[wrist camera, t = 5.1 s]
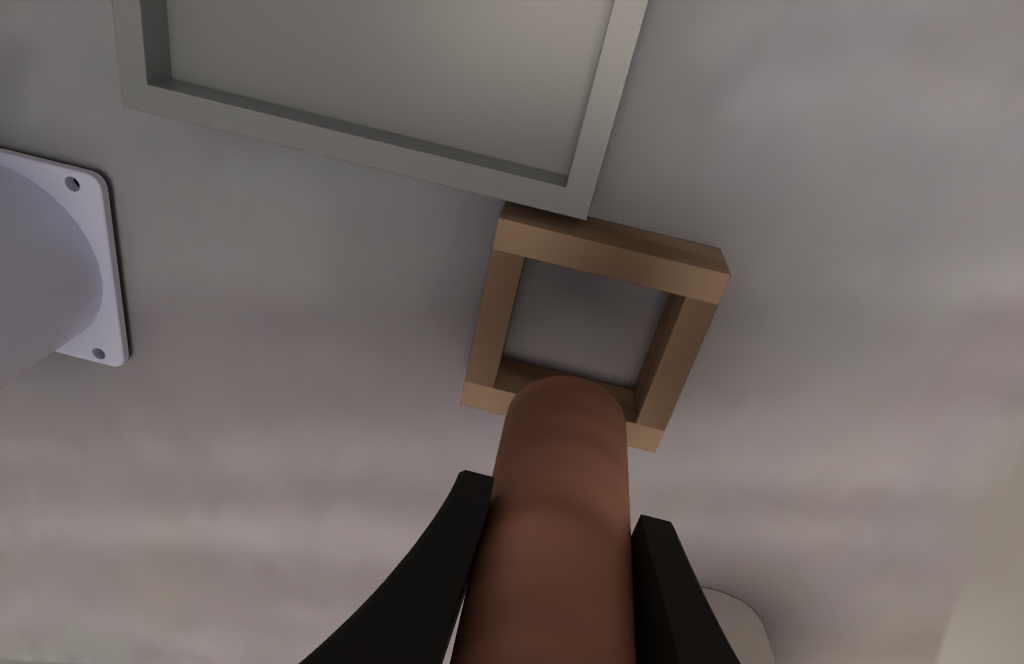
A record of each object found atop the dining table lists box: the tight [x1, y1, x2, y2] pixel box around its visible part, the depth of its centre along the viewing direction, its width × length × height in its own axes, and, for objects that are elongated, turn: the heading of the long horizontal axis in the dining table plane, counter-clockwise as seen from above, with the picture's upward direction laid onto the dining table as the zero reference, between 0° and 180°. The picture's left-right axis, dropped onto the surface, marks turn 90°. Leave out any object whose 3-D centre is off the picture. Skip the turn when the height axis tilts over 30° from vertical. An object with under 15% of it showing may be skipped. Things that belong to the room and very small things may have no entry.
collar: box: [460, 201, 731, 453], centre depth 21 cm, size 7×7×2 cm
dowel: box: [450, 376, 636, 664], centre depth 12 cm, size 3×3×9 cm
